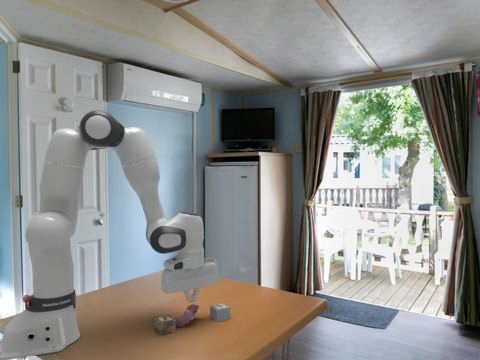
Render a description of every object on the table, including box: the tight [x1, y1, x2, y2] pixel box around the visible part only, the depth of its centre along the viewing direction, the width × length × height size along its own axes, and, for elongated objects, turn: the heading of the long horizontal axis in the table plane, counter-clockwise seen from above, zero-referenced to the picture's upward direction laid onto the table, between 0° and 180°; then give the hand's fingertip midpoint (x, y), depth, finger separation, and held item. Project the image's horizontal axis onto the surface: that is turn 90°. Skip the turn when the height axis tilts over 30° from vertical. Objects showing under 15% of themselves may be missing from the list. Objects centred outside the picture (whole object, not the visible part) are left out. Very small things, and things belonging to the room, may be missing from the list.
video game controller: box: [175, 303, 200, 328], centre depth 124 cm, size 10×5×7 cm, turn 169°
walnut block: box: [154, 315, 177, 337], centre depth 117 cm, size 5×5×4 cm
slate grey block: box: [209, 303, 231, 323], centre depth 128 cm, size 5×5×4 cm
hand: (191, 301), depth 124 cm, fingers closed
